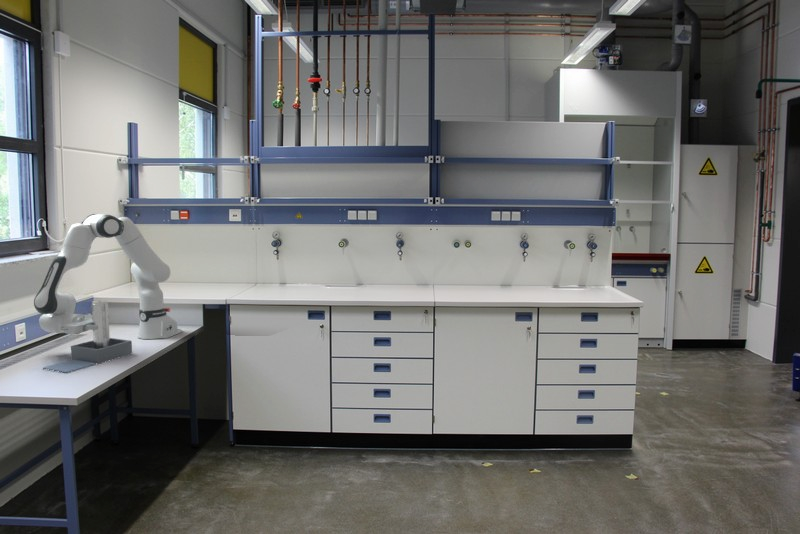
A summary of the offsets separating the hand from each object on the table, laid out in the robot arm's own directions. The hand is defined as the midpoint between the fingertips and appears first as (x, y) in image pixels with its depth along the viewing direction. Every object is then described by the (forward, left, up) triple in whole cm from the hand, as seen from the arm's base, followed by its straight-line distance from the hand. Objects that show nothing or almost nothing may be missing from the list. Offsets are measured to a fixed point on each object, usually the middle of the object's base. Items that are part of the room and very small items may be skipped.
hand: (102, 325), depth 262 cm
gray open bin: (0, -1, -14) cm, 14 cm away
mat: (+17, 0, -14) cm, 22 cm away
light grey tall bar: (0, -1, -14) cm, 14 cm away
